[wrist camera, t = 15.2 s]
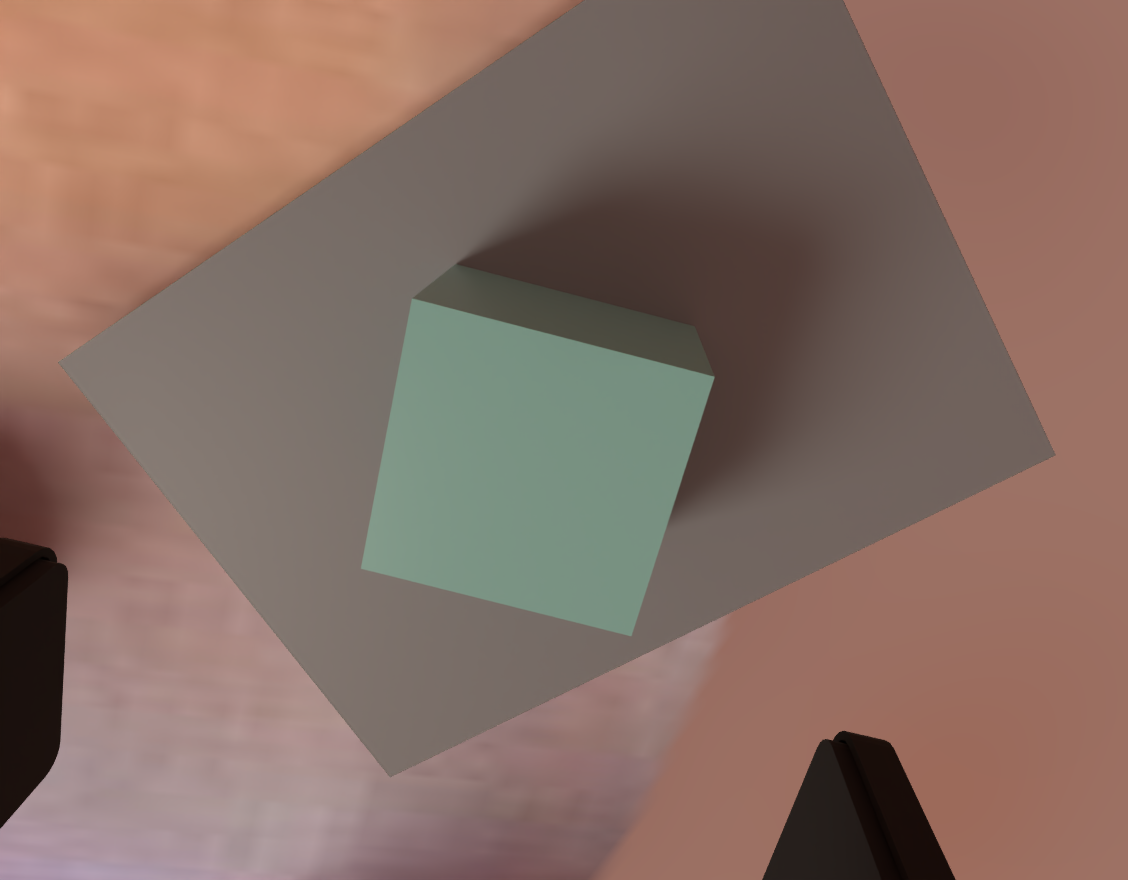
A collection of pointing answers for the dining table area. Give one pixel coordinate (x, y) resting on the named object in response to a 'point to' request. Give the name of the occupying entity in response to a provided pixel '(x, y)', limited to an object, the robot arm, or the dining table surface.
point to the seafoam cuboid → (535, 447)
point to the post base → (599, 272)
